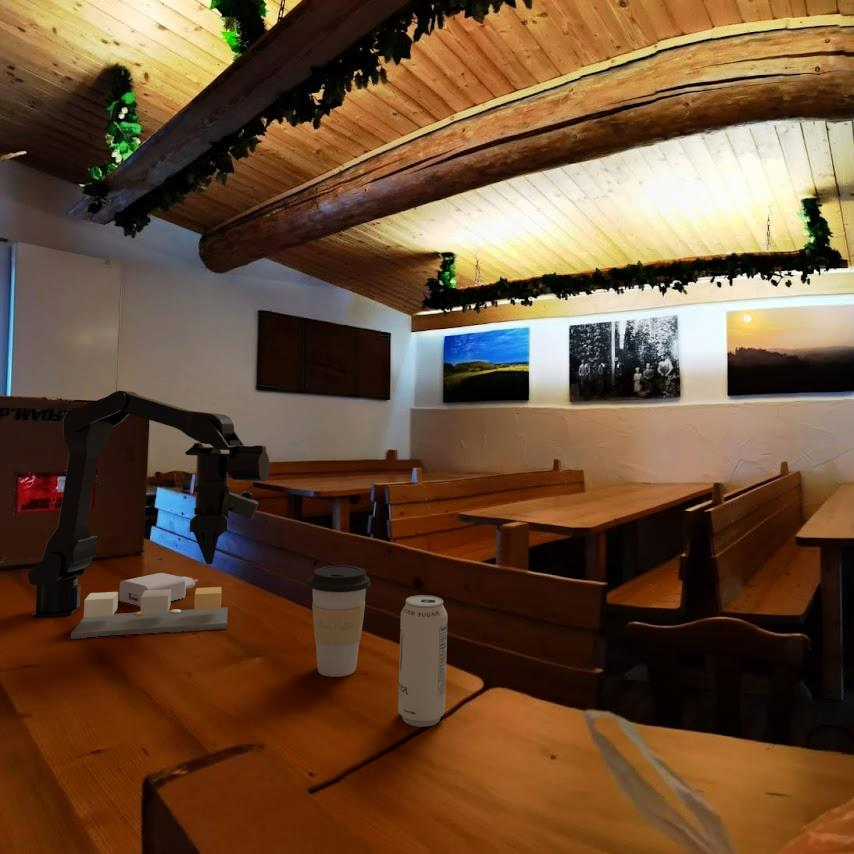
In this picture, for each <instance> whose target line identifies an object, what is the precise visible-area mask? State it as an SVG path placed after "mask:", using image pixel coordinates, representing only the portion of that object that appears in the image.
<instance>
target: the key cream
mask: <svg viewBox="0 0 854 854" xmlns="http://www.w3.org/2000/svg"><path fill="white" fill-rule="evenodd" d="M83 601H84V602H83V604H84V605H83V618H84V617H96V616H113V614H116V611H117V609H118V608H119V607H118V604H119V603H118V602H119V592H118V591H109V592H107V591H106V592H90V593H89V594H88V595H87V596H86V598H85V599H84V600H83Z"/></svg>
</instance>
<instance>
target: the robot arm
mask: <svg viewBox="0 0 854 854" xmlns="http://www.w3.org/2000/svg"><path fill="white" fill-rule="evenodd" d="M129 415H133V416H136V417H138V418H141V419H145V420H149V421H152V422H155V423H157V424H158V423H159V424H162V425H164V426H168V427H171V428H174V429H177V430H179V431H180V432H181V433H182V434H184V435H186V436H187V437H189V438H190V439H192V440H195V441H197V442H195V443H194V444H193V445H192V446H191V447H190V448H189V449H187V450H186V451H185V456H196V472H195V477H196V478H195V486H194V493H195V497H194V499H195V503H194V504H195V505H194V506H195V507H194V509H193V514H194V516H192V517H191V519H190V520H189V533H193V536H194V537H195V540H196V542H197V545H198V547H199V550H200V552H201V554H202V557H203V559H204V561H205V564H206V565H212V564H214V563H213V562H214V559H215V558H214V557H215V554H216V551H217V550H216V549H217V545H218V541H219V537H220V536H221V535H222V534H223V533H225V532H228V527H229V526H228V525H229V523H228V521H229V520H228V519H229V517H230V512H231V513H234V514H237V515H239V516H243V517H244V518H246V519H249V520H253V519H254V516H255V514H256V511H257V509H258V506H259V501H257V500H255V499H253V496H252V495H253V494H252V493H251V492H249V491H246V490H243V492H242V493H240V494H238V493H233V492H231V491H230V490H231V489H230V488H231V486H230V485H229V477H231V479H232V480H234V481H237V482H266V481H268V478H269V475H270V471H271V462H270V459H269V454H268V453H267V445H263V444H262V445H258V444H257V445H245V444H244V443H243V441H242V440H241V438H240V437H239V435H238V434H237V433H236V430H235V425H234V422H233V420H232V419H231V417H230V416H229V415H226V414H223V413H222V414H221V413H213V412H204V411H194V410H189V409H185V408H183V407H178V406H175V405H172V404H168V403H165V402H162V401H159V400H157V399H156V400H155V399H152V398H150V397H146V396H143V395H140V394H138V393H136V392H134V391H126V390H116V391H115V392H112V393H111V394H108V395H107V396H105V397H102V398H99V399H97V400H94V401H92V402H89V403H86V404H84V405H82V406H80V407H74V408H71V409H70V410H69V411H67V412H65V414H64V415H63V419H62V436H63V437H62V438H63V441H64V443H65V446H66V448H67V450H68V458H67V466H66V473H65V479H64V487H63V492H62V499H61V505H60V511H59V512H60V513H59V518H58V524H57V527H56V529H55V530H54V532H53V533H52V535H51V536H50V538H49V539H48V541H47V542H46V546H45V548H44V552H43V554H42V557H41V560H40V561H39V562H38V563H37V564H36V565H35V566H34V567H33V568H32V569H30V570H29V572H28V573H27V578H28V580H29V584H30V585H31V586H32V585H33V586H35V585H36V593H35V594H36V595H35V598H36V599H35V611H34V612H33V613H32V614H31V616H32V618H41V617H43V618H44V617H57V616H59V617H60V616H61V617H62V616H71V615H72V614H73V613H74V612H76V611H77V609H78V608H79V607H80V606H81V591H82V590H81V589H82V587H81V584H78V579H79V577H82V576H84V575H85V571H86V569H87V567H88V566H89V565H90V564H91V563H92V561H93V559H94V558H95V557H96V556H97V551H96V547H97V544H98V539H99V538H98V536H97V535H91V533H90V530H89V527H88V525H89V520H90V519H89V518H90V511H91V506H92V498H93V491H94V485H95V484H94V483H95V480H96V479H95V478H96V472H97V464H98V459H99V455H100V453H101V452H102V450H103V449H104V448H105V446H106V445H107V443H108V442H109V439H110V435H111V433H112V429H113V427H116V426H117V425H120V423H122V422H123V421H125V419H127V418H128V416H129ZM204 445H210V446H204ZM222 451H228V452H222Z"/></svg>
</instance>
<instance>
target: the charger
mask: <svg viewBox="0 0 854 854" xmlns="http://www.w3.org/2000/svg"><path fill="white" fill-rule="evenodd" d="M196 582H199V580H198V579H194V578H192V577H188V576H179V575H174V574H169V573H165V572H157V573H153V574H149V575H144V576H138V577H135V578H130V579H125V580H121V581H120V583H119V596H118V600H119V601H120V602H121V601H123V602H127V603H130V604H135V605H138V606H141V596H142V595H143V593H144V591H146V590H167V589H171V601H173V602H175V601H174V600H176V601H179V600H178V599H180V600H183V599H185V598H186V595H187V594H186V590H189V589H191V588H193V587H195V586H196ZM182 598H183V599H182ZM123 602H122V603H123ZM130 604H129V605H130ZM138 606H137V607H138Z"/></svg>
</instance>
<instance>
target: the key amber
mask: <svg viewBox="0 0 854 854" xmlns="http://www.w3.org/2000/svg"><path fill="white" fill-rule="evenodd" d="M221 605H222V586H215V587H214V586H212V587H196V589H195V592H194V608H193V609H194V611H199V610H216V609H220V608H222V607H221Z"/></svg>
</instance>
